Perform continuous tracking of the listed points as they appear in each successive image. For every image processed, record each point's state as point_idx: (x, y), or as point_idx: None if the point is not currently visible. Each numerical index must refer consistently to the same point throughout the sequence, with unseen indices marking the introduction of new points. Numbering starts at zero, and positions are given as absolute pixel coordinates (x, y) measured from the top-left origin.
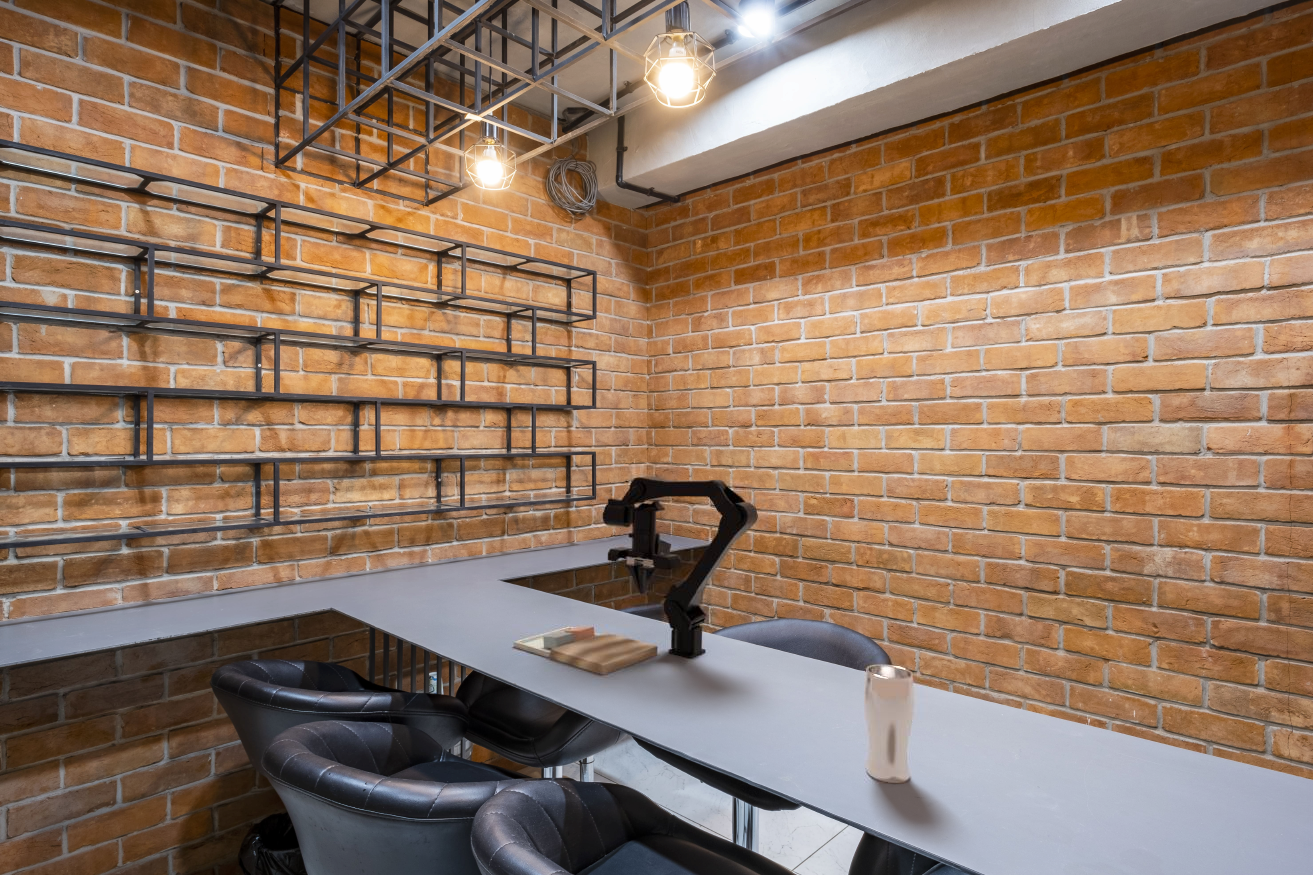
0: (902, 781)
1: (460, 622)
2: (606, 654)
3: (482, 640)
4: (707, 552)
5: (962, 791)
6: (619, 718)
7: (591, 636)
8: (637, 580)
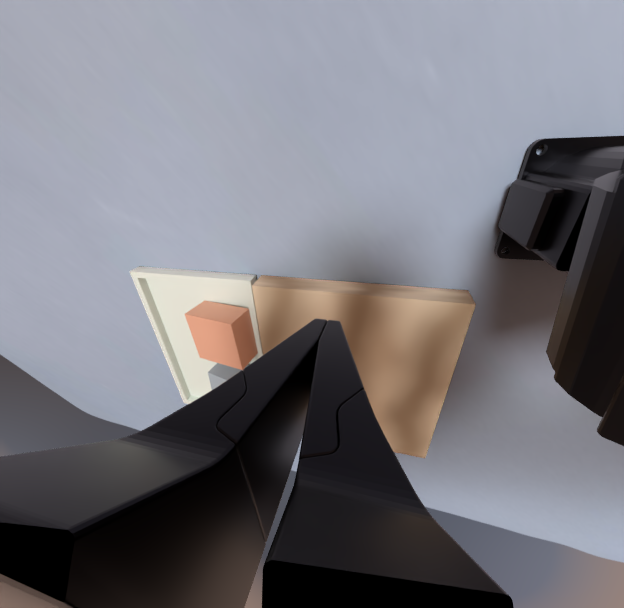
0: None
1: (18, 343)
2: (386, 414)
3: (135, 392)
4: None
5: None
6: (553, 539)
7: (247, 321)
8: (294, 457)
